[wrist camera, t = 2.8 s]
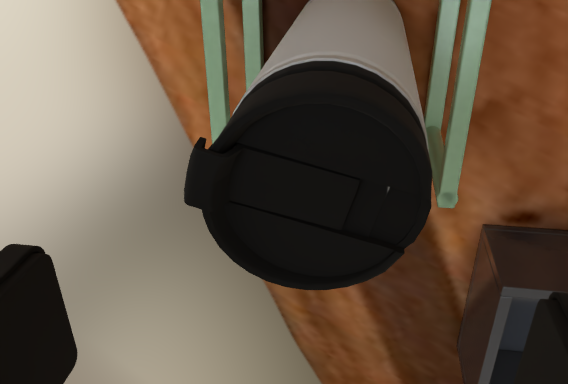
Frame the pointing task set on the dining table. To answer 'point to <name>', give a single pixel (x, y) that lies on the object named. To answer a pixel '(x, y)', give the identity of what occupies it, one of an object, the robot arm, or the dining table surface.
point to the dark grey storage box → (507, 298)
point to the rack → (442, 157)
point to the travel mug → (321, 154)
